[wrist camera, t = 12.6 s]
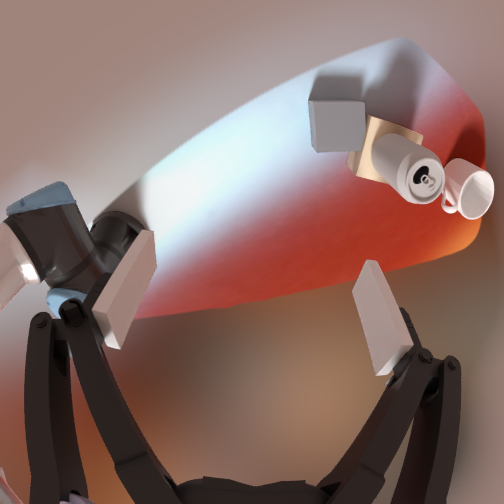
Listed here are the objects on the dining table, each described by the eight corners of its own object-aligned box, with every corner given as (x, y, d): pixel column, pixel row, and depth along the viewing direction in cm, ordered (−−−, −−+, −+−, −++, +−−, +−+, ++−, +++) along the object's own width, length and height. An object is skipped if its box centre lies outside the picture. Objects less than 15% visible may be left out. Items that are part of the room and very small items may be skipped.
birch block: (346, 164, 44) (356, 175, 39) (358, 111, 38) (371, 116, 33) (393, 176, 44) (406, 189, 40) (407, 128, 39) (423, 135, 34)
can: (389, 122, 34) (430, 140, 24) (417, 154, 36) (458, 181, 26) (359, 155, 37) (391, 183, 27) (389, 184, 39) (422, 220, 30)
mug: (467, 149, 39) (491, 162, 32) (475, 190, 43) (496, 206, 37) (422, 173, 43) (443, 189, 37) (433, 214, 48) (452, 234, 42)
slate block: (311, 145, 43) (317, 152, 38) (308, 100, 38) (313, 101, 34) (356, 144, 42) (365, 151, 38) (354, 99, 37) (364, 102, 33)
